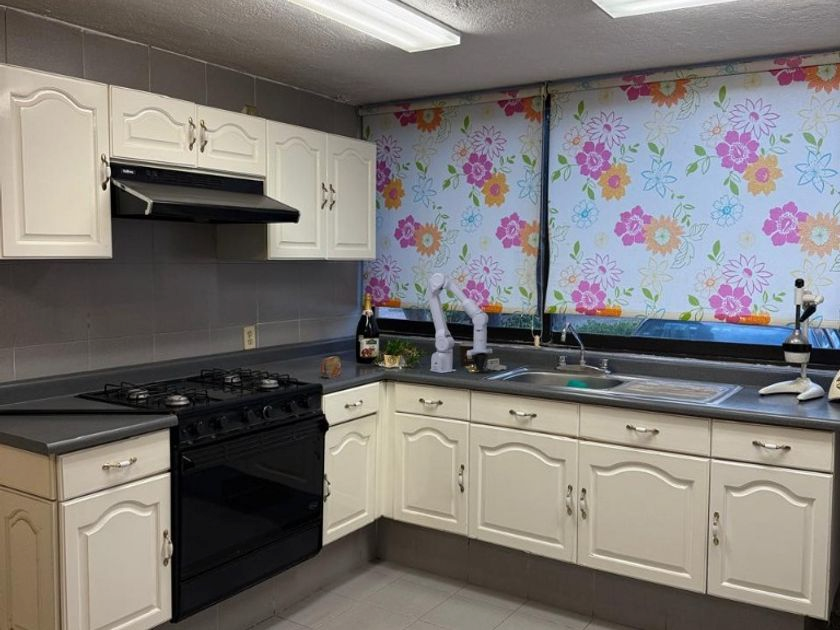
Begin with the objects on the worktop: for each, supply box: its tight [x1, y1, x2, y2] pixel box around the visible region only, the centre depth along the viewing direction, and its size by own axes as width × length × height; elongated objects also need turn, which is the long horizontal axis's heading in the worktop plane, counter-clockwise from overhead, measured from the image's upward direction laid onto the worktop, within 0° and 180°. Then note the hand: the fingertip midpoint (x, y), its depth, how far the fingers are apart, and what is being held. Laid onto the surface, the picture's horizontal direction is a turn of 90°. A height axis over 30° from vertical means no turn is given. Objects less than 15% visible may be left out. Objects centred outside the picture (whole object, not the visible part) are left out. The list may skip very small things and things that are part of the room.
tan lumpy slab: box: [321, 355, 343, 379], centre depth 319 cm, size 15×3×8 cm, turn 161°
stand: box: [486, 358, 507, 371], centre depth 348 cm, size 8×5×4 cm, turn 134°
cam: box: [464, 364, 489, 373], centre depth 337 cm, size 11×6×3 cm, turn 44°
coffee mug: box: [458, 343, 476, 367], centre depth 356 cm, size 12×9×10 cm
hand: (479, 370), depth 334 cm, fingers closed
